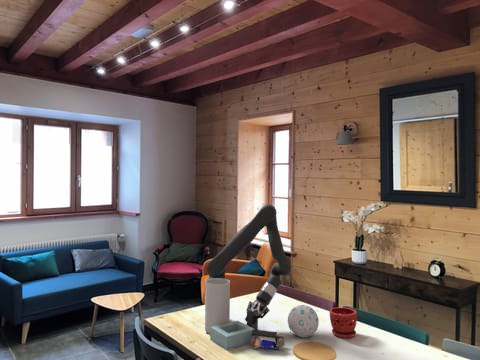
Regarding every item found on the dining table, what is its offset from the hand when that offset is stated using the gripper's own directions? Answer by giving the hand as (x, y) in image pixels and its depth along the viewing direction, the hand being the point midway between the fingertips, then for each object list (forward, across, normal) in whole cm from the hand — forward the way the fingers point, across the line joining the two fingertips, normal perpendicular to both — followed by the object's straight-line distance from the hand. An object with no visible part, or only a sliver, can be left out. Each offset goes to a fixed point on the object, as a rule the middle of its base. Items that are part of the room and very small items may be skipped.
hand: (249, 322), depth 190 cm
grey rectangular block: (+2, 0, +5) cm, 5 cm away
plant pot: (-20, +32, +28) cm, 47 cm away
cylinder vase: (+12, -12, -4) cm, 17 cm away
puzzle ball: (-8, +20, +16) cm, 27 cm away
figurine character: (+8, +19, 0) cm, 21 cm away
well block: (+13, +3, -6) cm, 15 cm away
